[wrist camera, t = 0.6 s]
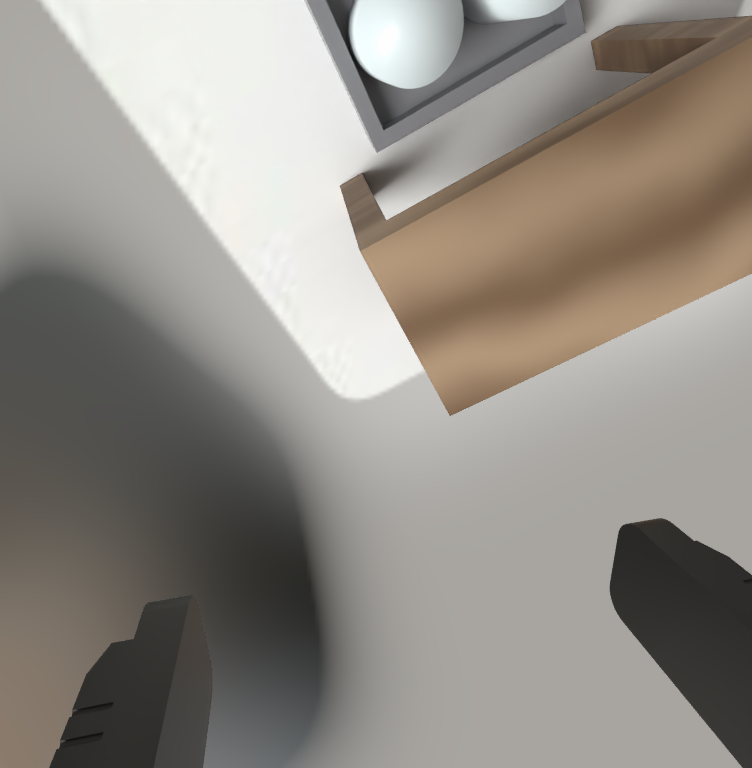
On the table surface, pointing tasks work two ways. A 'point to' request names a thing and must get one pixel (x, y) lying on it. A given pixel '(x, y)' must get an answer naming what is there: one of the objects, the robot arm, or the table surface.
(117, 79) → the table surface
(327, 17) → the tray
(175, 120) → the table surface
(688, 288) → the small wooden table
